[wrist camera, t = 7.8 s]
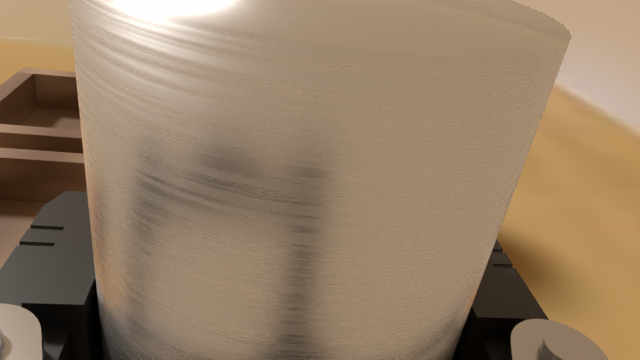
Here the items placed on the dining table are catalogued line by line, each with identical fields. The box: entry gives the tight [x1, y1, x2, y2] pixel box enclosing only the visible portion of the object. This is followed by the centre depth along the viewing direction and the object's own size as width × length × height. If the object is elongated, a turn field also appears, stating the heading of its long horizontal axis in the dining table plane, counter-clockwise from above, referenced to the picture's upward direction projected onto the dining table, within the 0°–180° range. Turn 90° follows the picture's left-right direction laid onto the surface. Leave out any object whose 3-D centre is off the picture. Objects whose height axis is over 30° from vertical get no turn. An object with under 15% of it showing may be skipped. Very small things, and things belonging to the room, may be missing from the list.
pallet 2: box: [0, 148, 87, 269], centre depth 19 cm, size 18×9×3 cm, turn 96°
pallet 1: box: [0, 68, 83, 154], centre depth 27 cm, size 18×9×3 cm, turn 96°
